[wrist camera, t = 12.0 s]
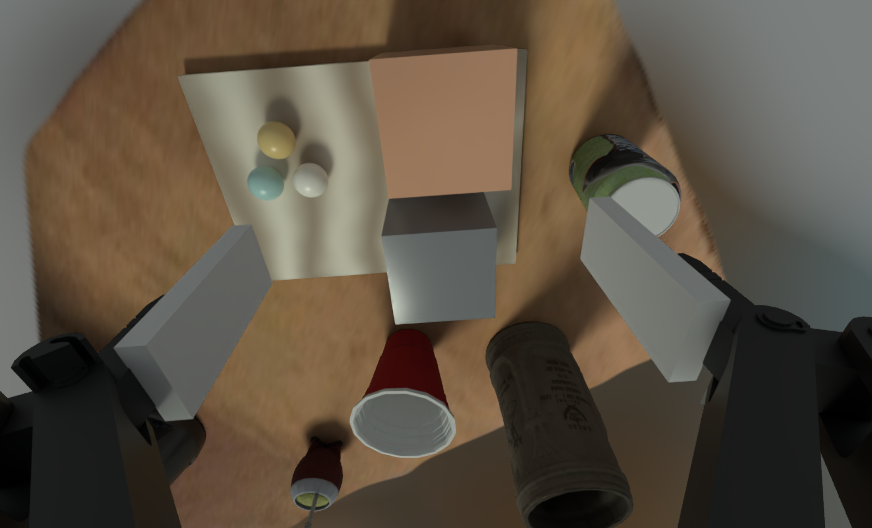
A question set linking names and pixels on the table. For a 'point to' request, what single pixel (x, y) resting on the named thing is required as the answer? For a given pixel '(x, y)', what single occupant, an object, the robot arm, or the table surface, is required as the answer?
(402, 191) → the salmon pink cube
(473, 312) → the gray cube
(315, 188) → the marble cream
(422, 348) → the plastic cup
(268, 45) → the table surface
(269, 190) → the marble teal
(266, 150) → the marble amber
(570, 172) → the beverage can
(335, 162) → the cream cloth mat
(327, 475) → the mate gourd
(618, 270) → the robot arm
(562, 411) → the beer stein
